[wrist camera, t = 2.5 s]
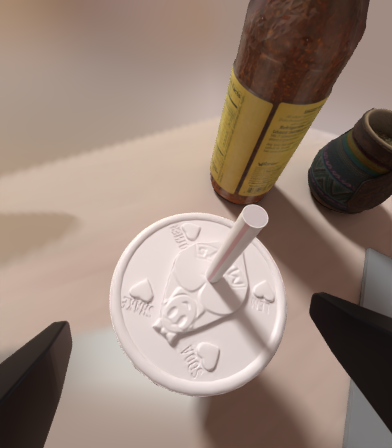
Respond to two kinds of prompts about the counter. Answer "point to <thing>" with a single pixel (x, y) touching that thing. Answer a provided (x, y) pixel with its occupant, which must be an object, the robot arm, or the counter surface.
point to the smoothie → (199, 302)
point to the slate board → (357, 404)
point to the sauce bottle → (279, 88)
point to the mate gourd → (355, 166)
